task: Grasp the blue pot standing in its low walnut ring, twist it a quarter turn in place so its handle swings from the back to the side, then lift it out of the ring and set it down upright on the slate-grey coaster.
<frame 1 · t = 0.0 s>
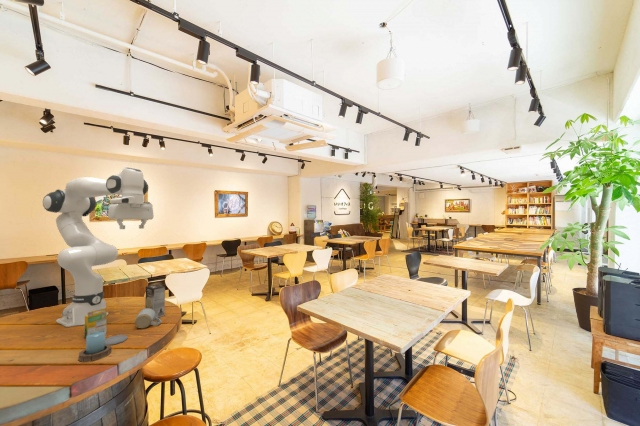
hand: (132, 228, 129), 48 cm above the table, fingers open, 8 cm apart
blue pot: (95, 343, 104), in the ring holder
coffee box: (154, 316, 144), on the table
crayon box: (95, 335, 120), on the table
ceramic mug: (148, 326, 131), on the table
coaster: (114, 340, 114), on the table
ring holder: (95, 355, 102), on the table
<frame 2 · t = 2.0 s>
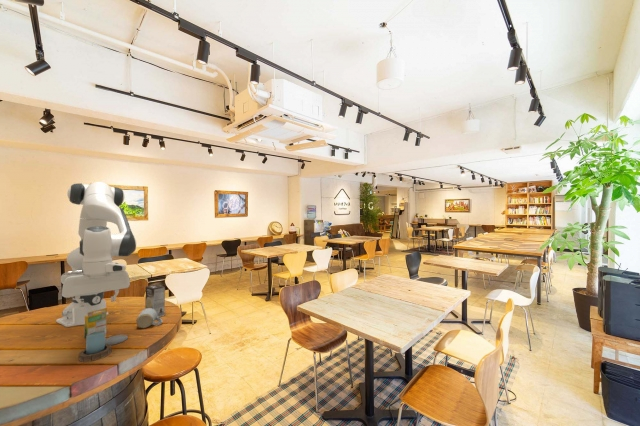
hand: (97, 303, 103), 20 cm above the table, fingers open, 8 cm apart
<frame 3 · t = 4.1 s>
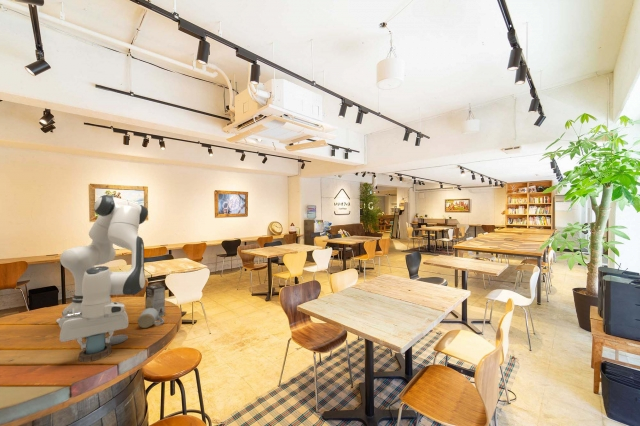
hand: (95, 345, 102), 4 cm above the table, fingers closed on blue pot, 6 cm apart
blue pot: (95, 342, 104), in the ring holder, touching gripper
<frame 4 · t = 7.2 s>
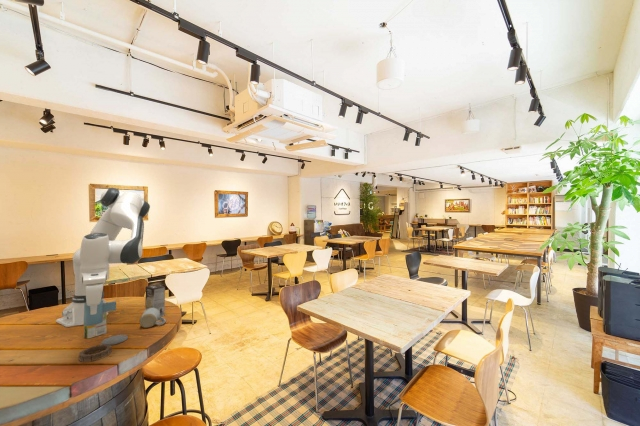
hand: (93, 311, 102), 17 cm above the table, fingers closed on blue pot, 6 cm apart
blue pot: (100, 311, 103), point 16 cm above the table, touching gripper
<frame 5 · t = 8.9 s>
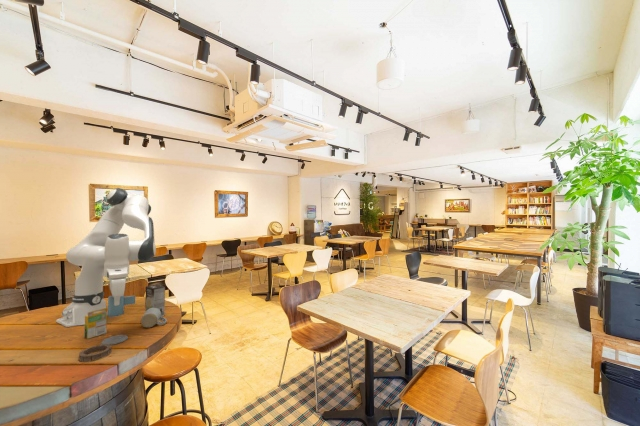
hand: (115, 303, 115), 16 cm above the table, fingers closed on blue pot, 6 cm apart
blue pot: (121, 304, 116), point 15 cm above the table, touching gripper
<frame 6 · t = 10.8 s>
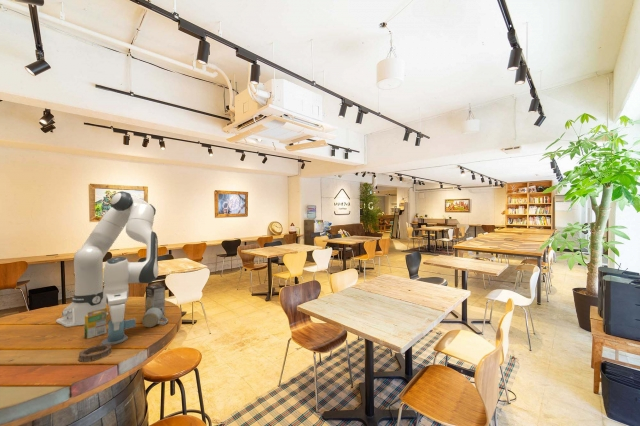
hand: (115, 327, 115), 6 cm above the table, fingers closed on blue pot, 5 cm apart
blue pot: (122, 328, 116), on the coaster, point 5 cm above the table, touching gripper
when the fingers open (6 cm above the table, at t = 11.1 s): blue pot stays where it is, resting on coaster.
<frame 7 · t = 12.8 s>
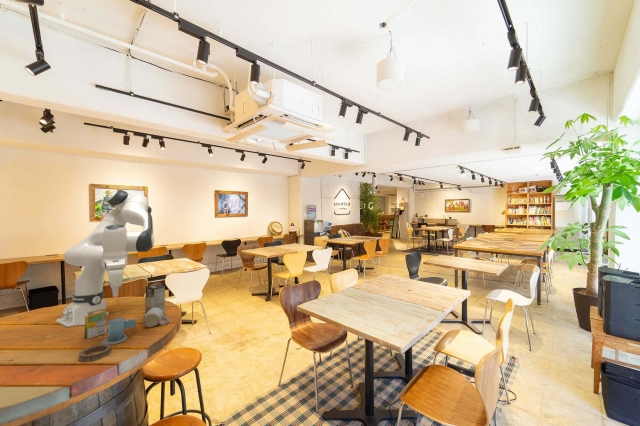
hand: (114, 293, 115), 20 cm above the table, fingers open, 8 cm apart
blue pot: (122, 328, 116), on the coaster, point 5 cm above the table
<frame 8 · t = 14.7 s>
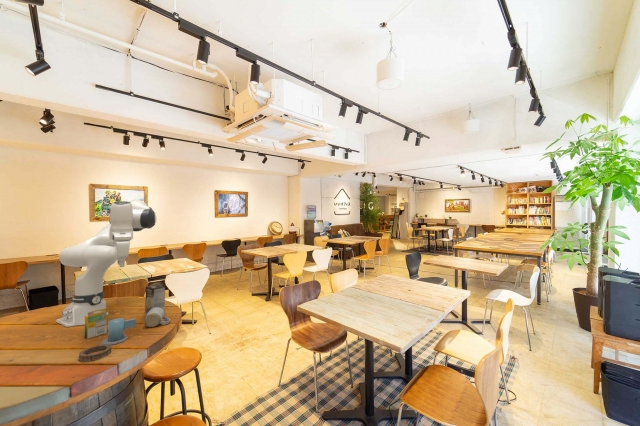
hand: (120, 265, 123), 31 cm above the table, fingers open, 8 cm apart
at the end: blue pot inside the target area on the coaster (0.5 cm from its centre), point 4.6 cm above the coaster's base; blue pot tilted 0°; the gripper is holding nothing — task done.
